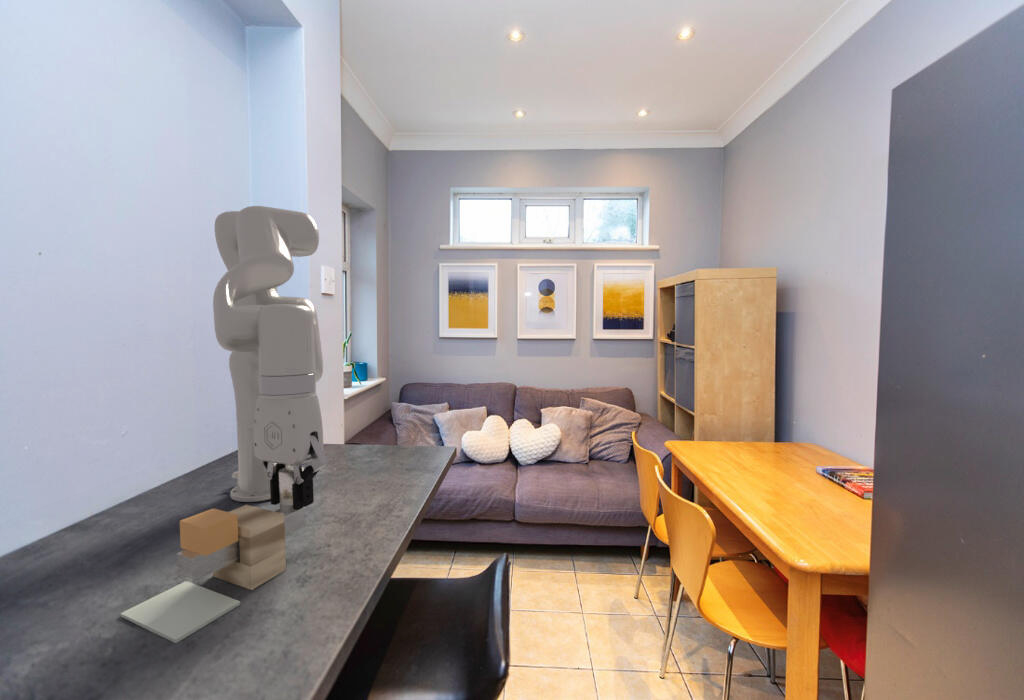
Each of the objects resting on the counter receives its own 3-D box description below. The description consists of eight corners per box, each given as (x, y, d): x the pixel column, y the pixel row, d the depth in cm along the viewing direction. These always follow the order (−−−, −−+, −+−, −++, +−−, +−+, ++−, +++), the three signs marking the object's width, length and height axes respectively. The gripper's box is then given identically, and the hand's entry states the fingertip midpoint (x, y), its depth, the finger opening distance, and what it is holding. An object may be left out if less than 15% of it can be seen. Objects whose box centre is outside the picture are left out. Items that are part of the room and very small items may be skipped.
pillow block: (213, 576, 58) (210, 518, 57) (248, 558, 62) (246, 504, 62) (251, 590, 55) (249, 529, 54) (285, 569, 59) (284, 513, 59)
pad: (120, 616, 50) (120, 613, 50) (186, 583, 56) (186, 580, 56) (175, 643, 45) (175, 639, 45) (240, 604, 52) (240, 601, 52)
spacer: (180, 547, 53) (179, 520, 53) (214, 533, 56) (213, 508, 56) (205, 556, 51) (204, 527, 51) (238, 540, 54) (237, 514, 54)
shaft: (176, 576, 52) (173, 505, 51) (294, 520, 67) (293, 464, 67) (193, 583, 50) (190, 509, 50) (310, 524, 66) (308, 467, 65)
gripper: (227, 386, 64) (232, 504, 64) (307, 392, 57) (311, 523, 58) (273, 381, 71) (277, 487, 71) (349, 385, 64) (352, 503, 65)
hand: (292, 502), depth 65 cm, fingers open, 4 cm apart
